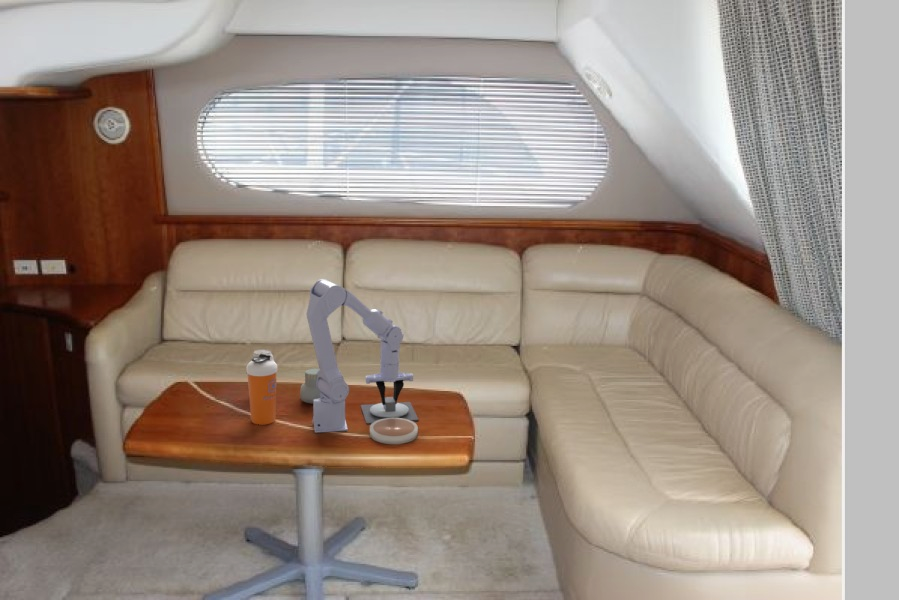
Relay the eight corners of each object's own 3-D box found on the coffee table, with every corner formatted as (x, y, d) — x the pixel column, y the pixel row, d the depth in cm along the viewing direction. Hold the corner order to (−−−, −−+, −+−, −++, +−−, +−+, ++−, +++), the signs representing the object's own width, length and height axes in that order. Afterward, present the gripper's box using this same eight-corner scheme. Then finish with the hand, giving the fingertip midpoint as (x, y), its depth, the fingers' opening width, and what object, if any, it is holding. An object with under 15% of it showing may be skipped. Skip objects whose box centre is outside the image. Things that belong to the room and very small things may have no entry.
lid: (372, 418, 219) (372, 407, 218) (367, 405, 230) (367, 394, 229) (412, 416, 222) (412, 405, 221) (404, 403, 233) (404, 392, 232)
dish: (373, 446, 204) (373, 439, 204) (366, 425, 217) (366, 419, 217) (422, 442, 207) (422, 435, 207) (412, 422, 220) (412, 416, 220)
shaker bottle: (243, 424, 215) (240, 360, 210) (255, 412, 223) (253, 351, 218) (272, 427, 214) (270, 363, 209) (283, 415, 222) (281, 353, 217)
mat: (366, 424, 218) (366, 422, 218) (360, 406, 231) (360, 404, 231) (418, 420, 222) (418, 419, 222) (410, 403, 235) (410, 401, 235)
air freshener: (326, 407, 230) (325, 377, 227) (299, 407, 229) (299, 377, 226) (329, 394, 240) (328, 365, 238) (303, 394, 239) (303, 365, 237)
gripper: (367, 367, 217) (367, 409, 220) (415, 365, 220) (414, 406, 224) (364, 359, 224) (364, 401, 227) (411, 357, 227) (410, 398, 230)
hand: (389, 403), depth 226 cm, fingers closed on lid, 3 cm apart
